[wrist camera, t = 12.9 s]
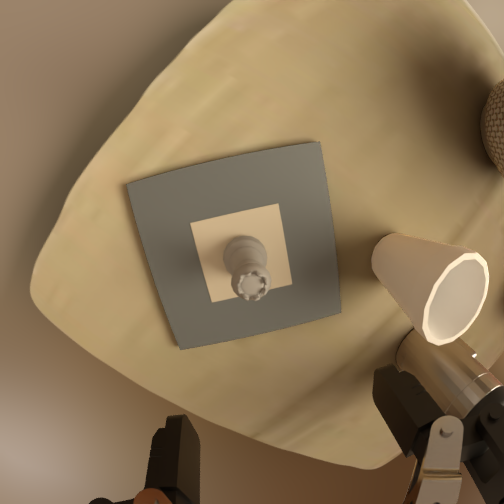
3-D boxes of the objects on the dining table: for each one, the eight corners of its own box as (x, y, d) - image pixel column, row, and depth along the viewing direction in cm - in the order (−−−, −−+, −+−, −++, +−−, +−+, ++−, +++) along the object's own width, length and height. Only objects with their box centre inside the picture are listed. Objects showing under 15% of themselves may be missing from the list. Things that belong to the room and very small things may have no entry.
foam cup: (418, 280, 35) (480, 325, 22) (362, 300, 34) (417, 359, 22) (418, 214, 32) (492, 241, 20) (357, 228, 31) (426, 267, 19)
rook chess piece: (274, 251, 30) (292, 281, 22) (247, 283, 31) (256, 321, 23) (240, 225, 29) (248, 247, 21) (214, 259, 30) (212, 292, 22)
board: (316, 142, 28) (320, 141, 27) (338, 308, 34) (341, 313, 33) (129, 183, 27) (125, 184, 26) (181, 345, 34) (180, 350, 33)
